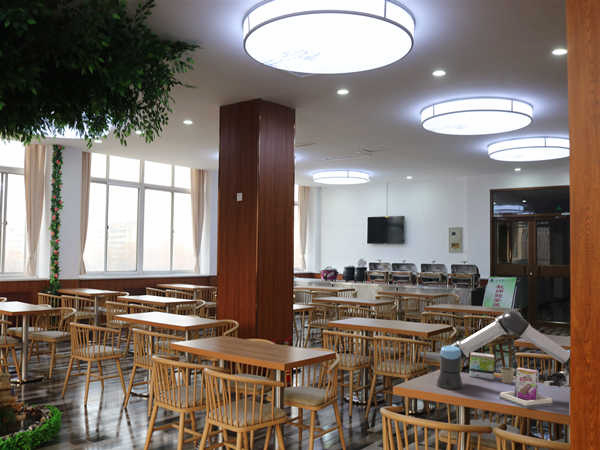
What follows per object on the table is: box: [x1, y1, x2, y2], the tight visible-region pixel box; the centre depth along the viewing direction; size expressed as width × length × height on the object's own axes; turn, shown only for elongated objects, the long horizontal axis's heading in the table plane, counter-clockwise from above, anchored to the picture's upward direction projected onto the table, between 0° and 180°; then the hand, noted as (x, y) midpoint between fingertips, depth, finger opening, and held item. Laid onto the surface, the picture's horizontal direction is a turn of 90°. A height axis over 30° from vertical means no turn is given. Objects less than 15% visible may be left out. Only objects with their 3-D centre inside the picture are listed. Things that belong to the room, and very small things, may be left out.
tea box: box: [469, 351, 495, 380], centre depth 354 cm, size 15×10×15 cm, turn 73°
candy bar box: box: [514, 367, 540, 401], centre depth 296 cm, size 11×5×16 cm, turn 57°
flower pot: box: [499, 366, 516, 385], centre depth 340 cm, size 9×9×9 cm
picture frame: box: [499, 390, 553, 409], centre depth 296 cm, size 18×20×4 cm
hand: (534, 381), depth 298 cm, fingers open, 13 cm apart
